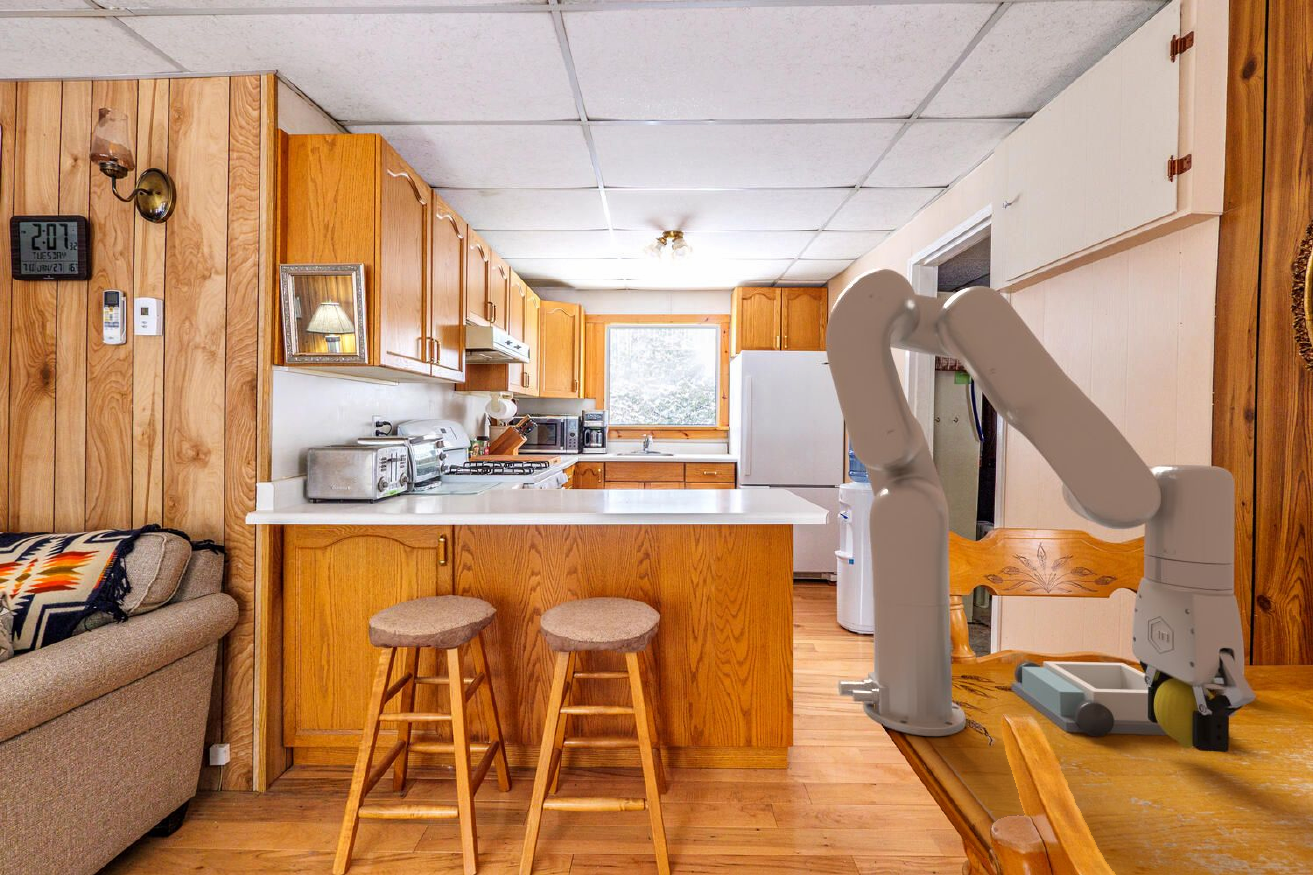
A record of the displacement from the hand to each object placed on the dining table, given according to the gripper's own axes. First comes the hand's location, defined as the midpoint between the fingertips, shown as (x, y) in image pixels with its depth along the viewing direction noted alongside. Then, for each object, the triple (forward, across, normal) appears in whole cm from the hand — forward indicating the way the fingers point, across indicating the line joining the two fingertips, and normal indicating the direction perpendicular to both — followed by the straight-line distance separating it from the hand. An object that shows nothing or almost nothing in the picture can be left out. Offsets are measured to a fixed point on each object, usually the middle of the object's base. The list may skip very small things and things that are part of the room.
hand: (1186, 733), depth 66 cm
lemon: (+2, 0, 0) cm, 2 cm away
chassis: (+3, -14, +1) cm, 14 cm away
